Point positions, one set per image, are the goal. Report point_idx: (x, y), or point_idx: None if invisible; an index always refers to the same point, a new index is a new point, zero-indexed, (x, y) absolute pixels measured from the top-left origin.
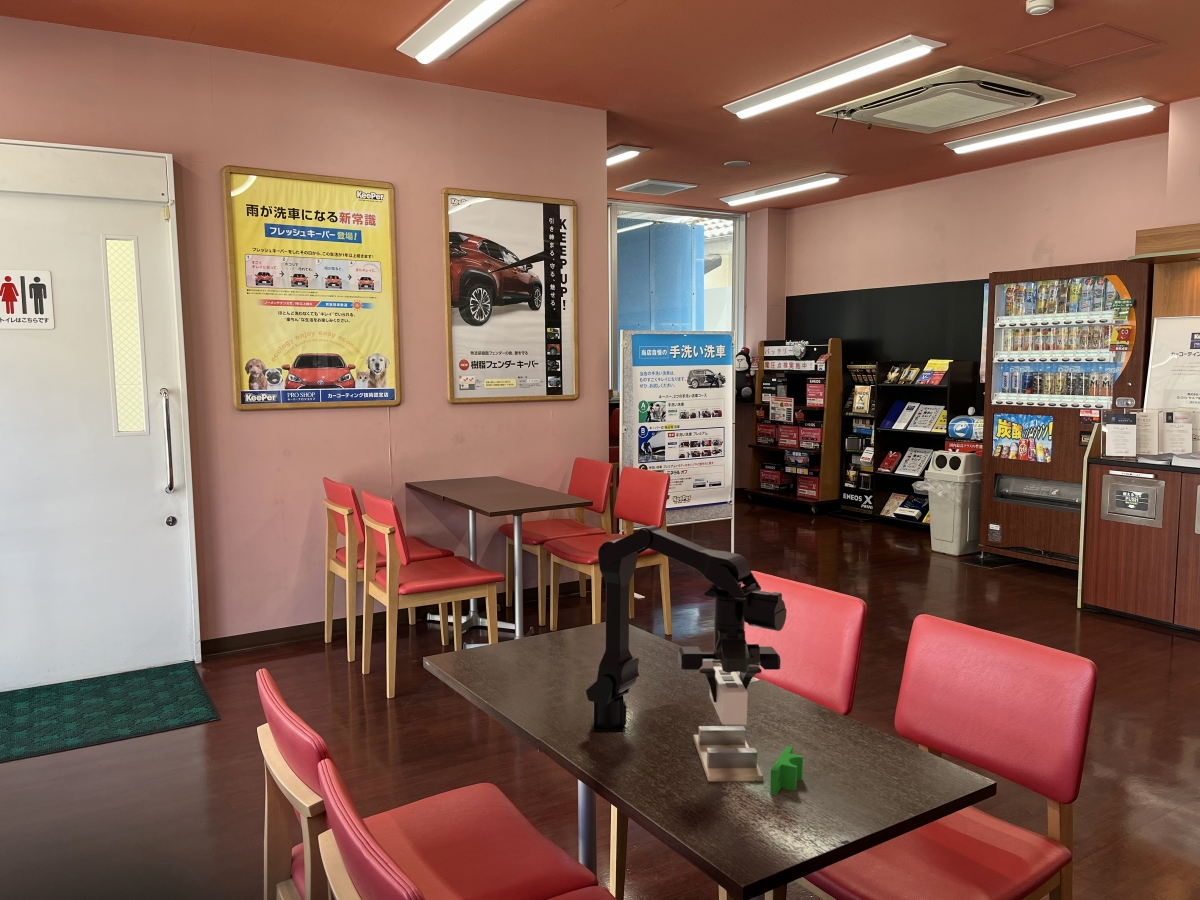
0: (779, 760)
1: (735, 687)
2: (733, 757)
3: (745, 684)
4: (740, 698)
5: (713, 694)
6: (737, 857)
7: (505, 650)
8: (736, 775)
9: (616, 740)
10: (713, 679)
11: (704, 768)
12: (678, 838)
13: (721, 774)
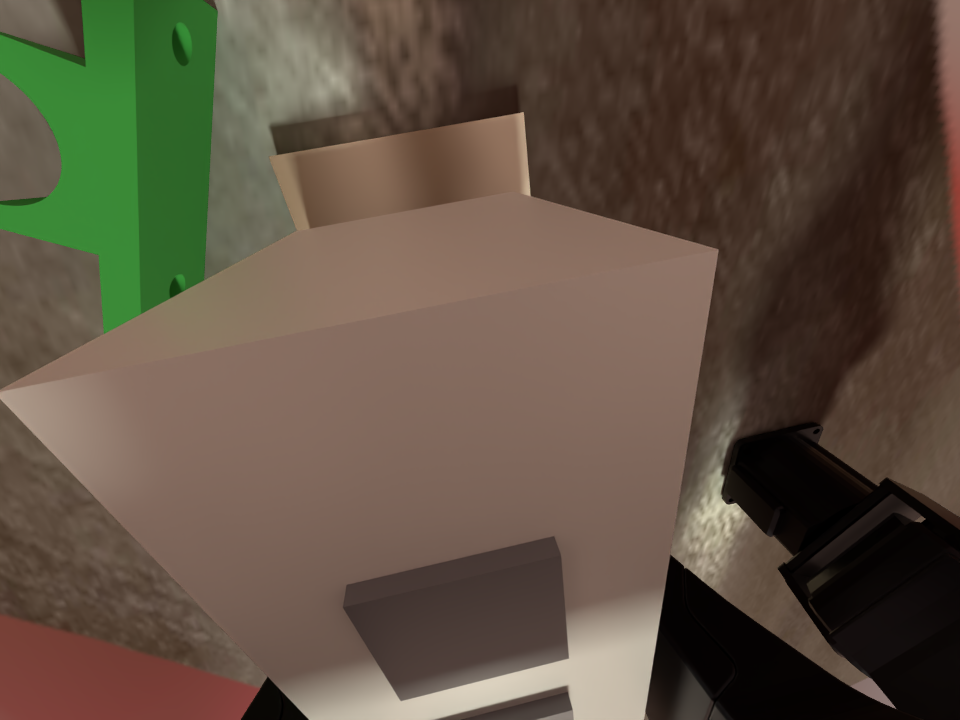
0: (121, 133)
1: (397, 572)
2: None
3: (286, 701)
4: (276, 287)
5: None
6: None
7: (850, 672)
8: (396, 138)
9: (770, 387)
10: (727, 678)
11: None
12: None
13: (464, 141)
